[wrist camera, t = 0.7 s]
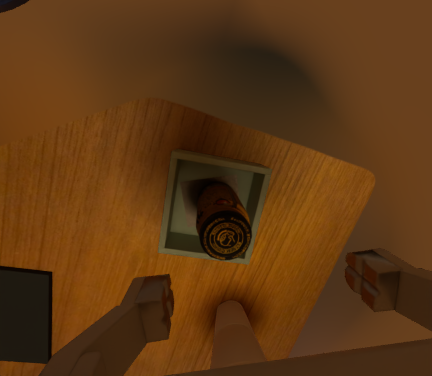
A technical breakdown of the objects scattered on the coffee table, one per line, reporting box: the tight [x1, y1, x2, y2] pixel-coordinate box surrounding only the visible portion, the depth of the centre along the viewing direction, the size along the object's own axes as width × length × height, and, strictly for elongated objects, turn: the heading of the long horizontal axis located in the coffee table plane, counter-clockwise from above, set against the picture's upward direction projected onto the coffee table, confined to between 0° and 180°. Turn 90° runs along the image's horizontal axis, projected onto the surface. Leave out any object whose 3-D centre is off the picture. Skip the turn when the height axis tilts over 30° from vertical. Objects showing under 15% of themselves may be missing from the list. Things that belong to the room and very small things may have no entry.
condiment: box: [180, 174, 252, 261], centre depth 25 cm, size 7×8×12 cm
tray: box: [158, 149, 272, 264], centre depth 29 cm, size 14×13×5 cm
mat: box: [0, 266, 52, 364], centre depth 34 cm, size 18×14×1 cm
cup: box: [210, 300, 267, 369], centre depth 28 cm, size 11×11×18 cm
